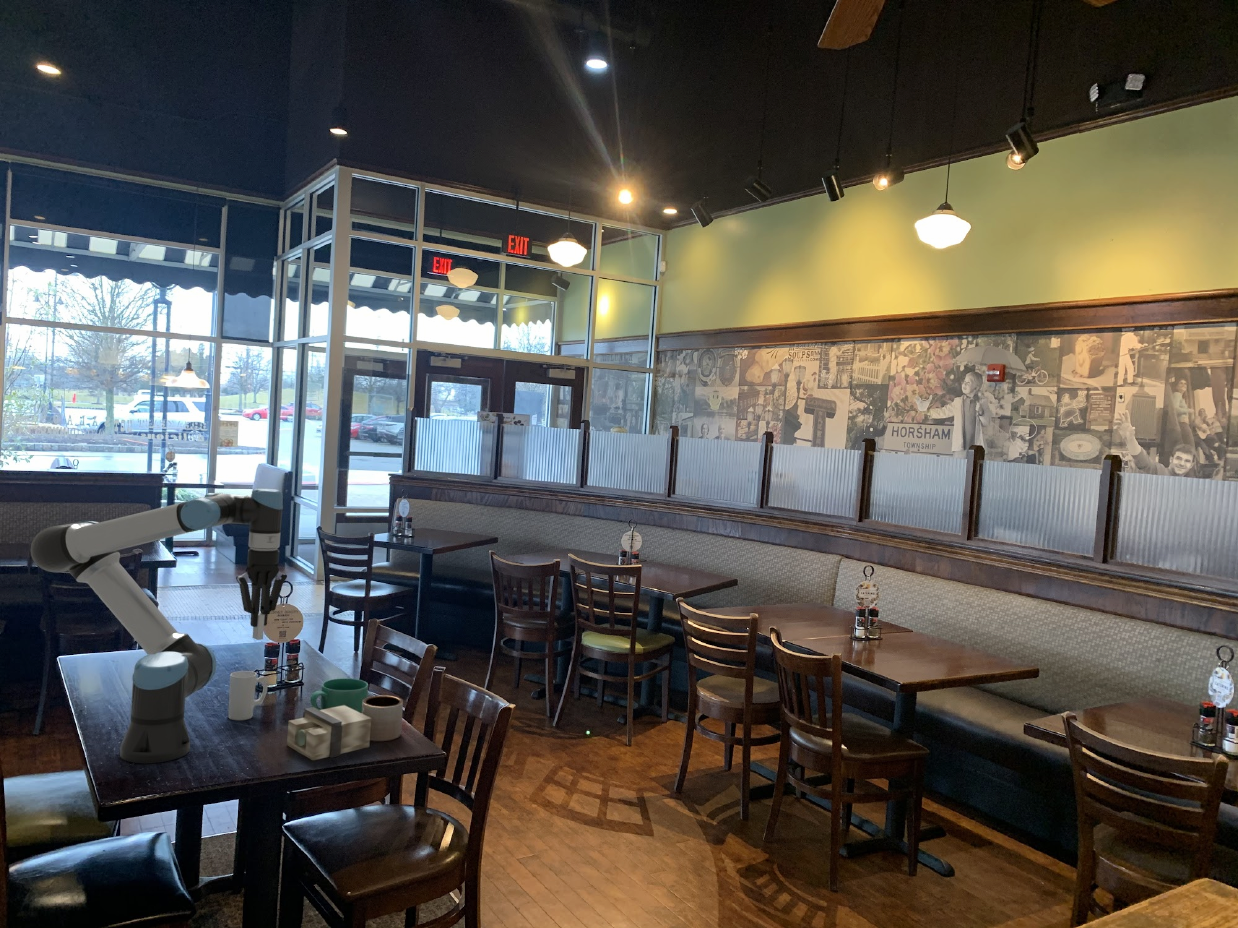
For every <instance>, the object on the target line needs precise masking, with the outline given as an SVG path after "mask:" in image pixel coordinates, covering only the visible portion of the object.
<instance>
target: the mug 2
mask: <svg viewBox="0 0 1238 928" xmlns="http://www.w3.org/2000/svg"><path fill="white" fill-rule="evenodd" d="M368 691H369V684H368V682H366V681H364V680H362V679H357V678H349V677H347V678H344V677H343V678H333V679H328V680H325V681H324V682H322V685H321V690H316V691H314V692H313V693H312V694H311V696H310V705H311V706H312V707H314V708H316V709H318V710H323V709H328V708H333V707H338V706H343V705H345V706H347V707H349V708H351V709H353V710H355V711H357V712H359V713H362V702H363V700H364V699H365V698H368V695H369V693H368ZM318 697H320V706H318V703H317V699H318Z"/></svg>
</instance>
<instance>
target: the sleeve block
mask: <svg viewBox="0 0 1238 928" xmlns="http://www.w3.org/2000/svg"><path fill="white" fill-rule="evenodd" d="M287 723H288V725H287V737H286V738H287V740H286V746H288V747H289V748H291V749H293V750H295V751H296V752H298V754H301V755H303V756H305V757H306V758H308V759H309V760H311V761H317V760H321V759H325V758H329V757H330V758H332V759H333V758H336V757H341V755H342V754H346V753H350V752H354V751H357V750H362V749H365V748H369V747H370V742H371V741H370V729H371V718H370V717H368V716H366V715H364V714H362V713H359V712H357V711H355V710H353V709H351V708H349V707H347V706H345V705H343V706H338V707H333V708H328V709H323V710H318V709H316V708H314V707H313V706H312V707H311V706H310V707H307V708H304V710H303V712H302V717H301V718H296V719H291V720H288V722H287ZM318 726H322V727H323V728H318V729H313V730H309V731H307V737H306V745H303V746H300V745H299V744H298V742H297V732H298V731H299V730H304V729H308V728H313V727H318Z"/></svg>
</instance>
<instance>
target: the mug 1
mask: <svg viewBox="0 0 1238 928" xmlns="http://www.w3.org/2000/svg"><path fill="white" fill-rule="evenodd" d="M258 683H260V684H261V685H262V687H263V688H262V689H263V690H262V693H261V696H259V698H258V699H255V697H256V696H255V695H256V685H257V684H258ZM267 693H268V684H267V681H266V679H265V676H264V675H261V676H259V677H257V672H255V671H251V670H239V671H234V672H231V673H230V677H229V693H228V694H229V696H228V715H227V716H228V718H229V719H230V720H233V721H246V720H250V719H251V718H253V717H254V716H253V714H254V708H255V707H256V706H261V705H262V704H263V702H264V700H265V698H266V696H267Z"/></svg>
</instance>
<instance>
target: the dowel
mask: <svg viewBox="0 0 1238 928" xmlns="http://www.w3.org/2000/svg"><path fill="white" fill-rule="evenodd" d="M318 728H323V727H322V726H318V727H313V728H308V729H304V730H299V731H298V732H297V742H298V744H299V745H300V746H303V745H306V737H307V731H309V730H313V729H318Z"/></svg>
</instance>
